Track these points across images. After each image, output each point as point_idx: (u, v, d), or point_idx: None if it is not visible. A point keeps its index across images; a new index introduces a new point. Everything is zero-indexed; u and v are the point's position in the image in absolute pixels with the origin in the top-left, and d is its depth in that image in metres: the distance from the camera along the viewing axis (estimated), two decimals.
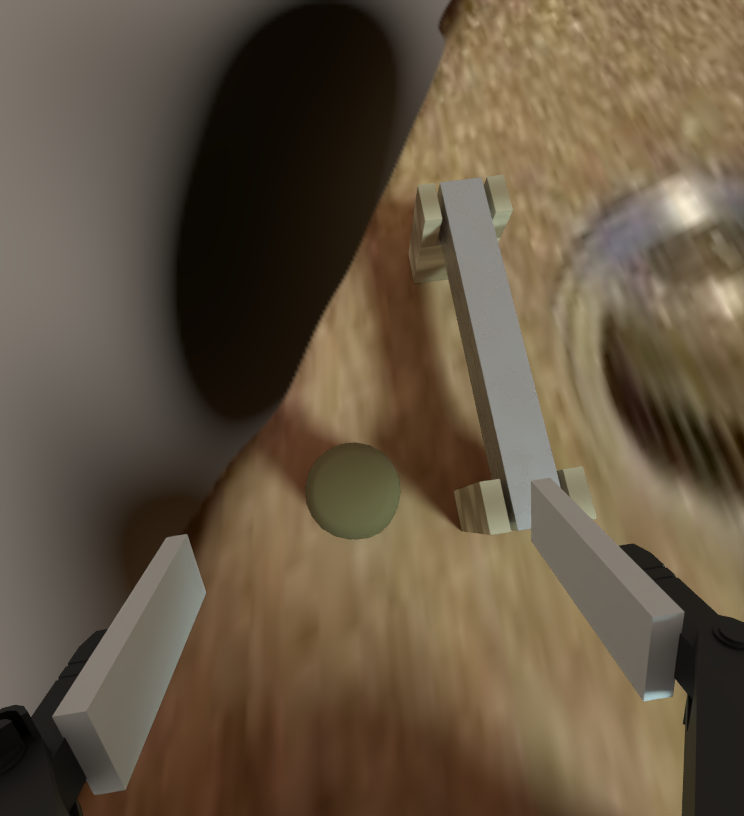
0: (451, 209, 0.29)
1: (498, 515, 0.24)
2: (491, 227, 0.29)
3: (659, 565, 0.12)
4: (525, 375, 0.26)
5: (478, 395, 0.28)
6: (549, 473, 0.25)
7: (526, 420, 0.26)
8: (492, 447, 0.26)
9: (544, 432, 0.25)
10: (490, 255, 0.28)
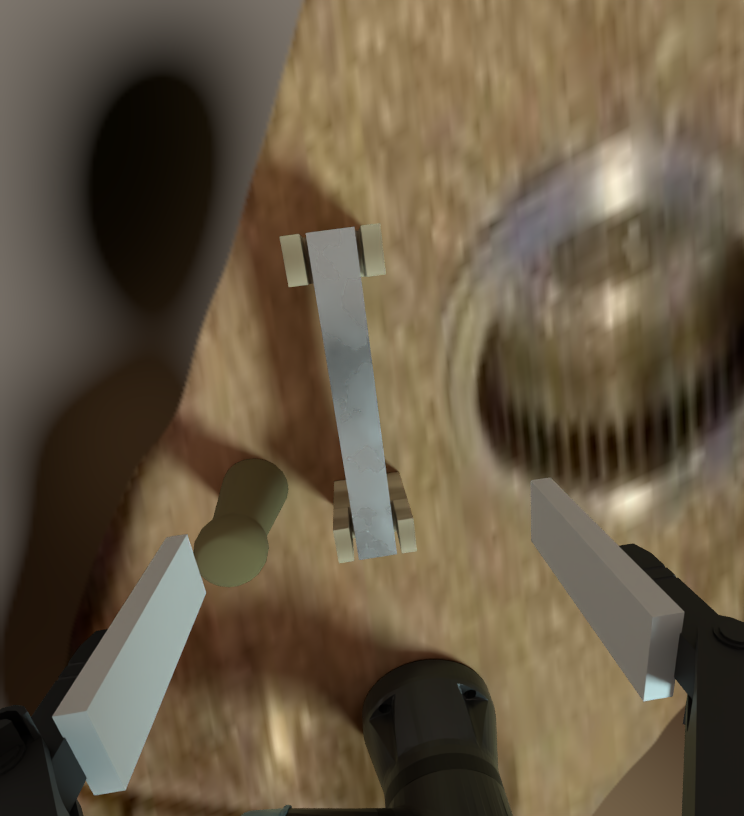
0: (318, 272, 0.26)
1: (345, 551, 0.33)
2: (360, 296, 0.27)
3: (659, 565, 0.12)
4: (377, 450, 0.30)
5: None
6: (387, 523, 0.32)
7: (373, 486, 0.31)
8: None
9: (387, 495, 0.32)
10: (356, 331, 0.28)
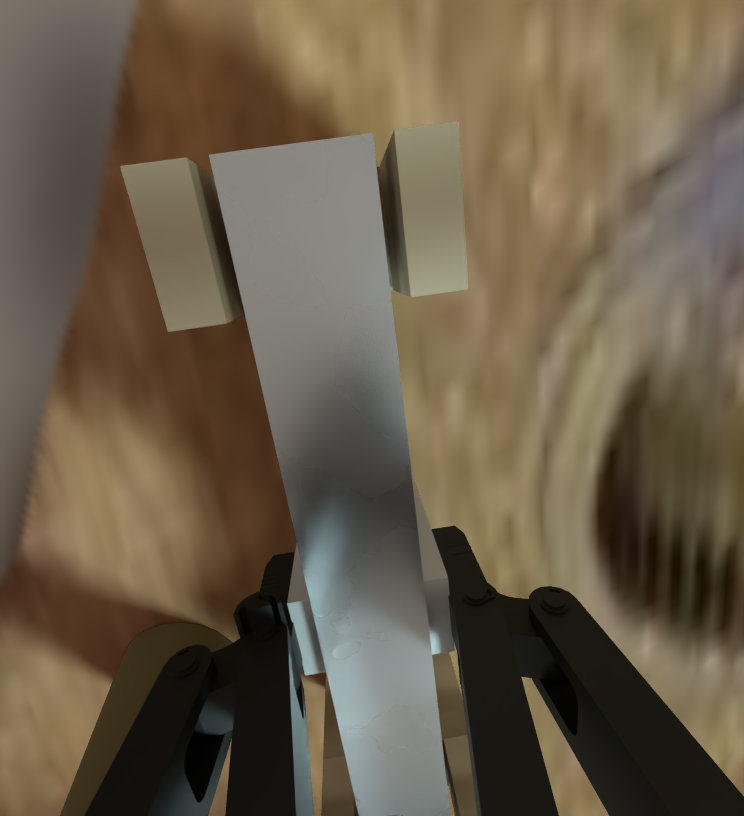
0: (257, 285, 0.08)
1: None
2: (389, 356, 0.09)
3: (464, 543, 0.14)
4: (425, 712, 0.13)
5: None
6: None
7: (413, 777, 0.13)
8: None
9: (443, 792, 0.14)
10: (377, 451, 0.10)
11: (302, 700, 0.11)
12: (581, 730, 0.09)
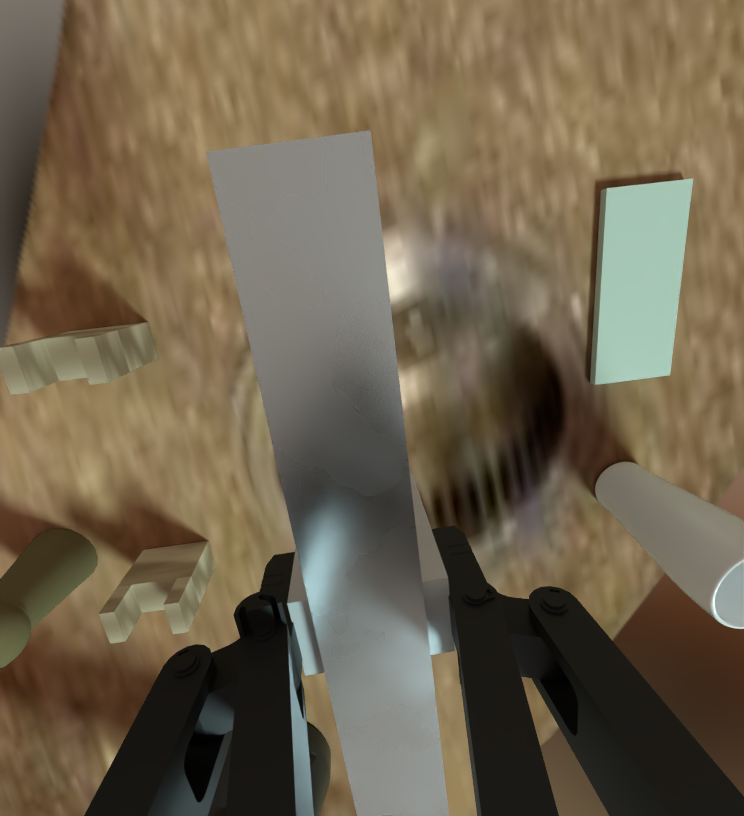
0: (255, 283, 0.08)
1: (115, 632, 0.34)
2: (387, 355, 0.09)
3: (464, 543, 0.14)
4: (423, 711, 0.13)
5: None
6: None
7: (411, 776, 0.13)
8: None
9: (442, 791, 0.14)
10: (375, 450, 0.10)
11: (302, 700, 0.11)
12: (581, 730, 0.09)
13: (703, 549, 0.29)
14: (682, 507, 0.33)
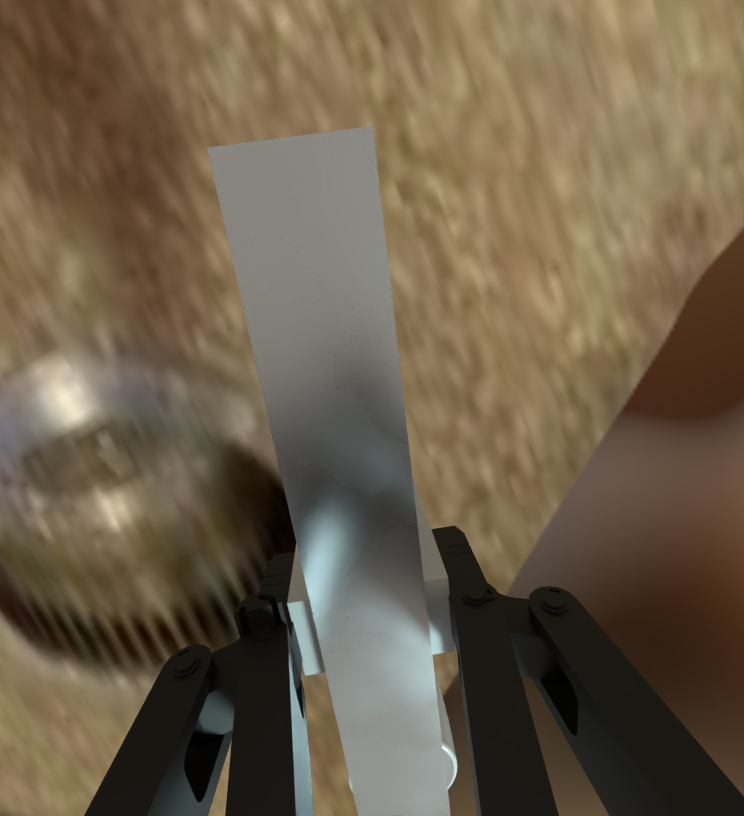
0: (256, 280, 0.08)
1: None
2: (389, 353, 0.09)
3: (464, 543, 0.14)
4: (425, 711, 0.12)
5: None
6: None
7: (413, 777, 0.13)
8: None
9: (443, 792, 0.14)
10: (377, 448, 0.10)
11: (302, 700, 0.11)
12: (581, 730, 0.09)
13: None
14: None
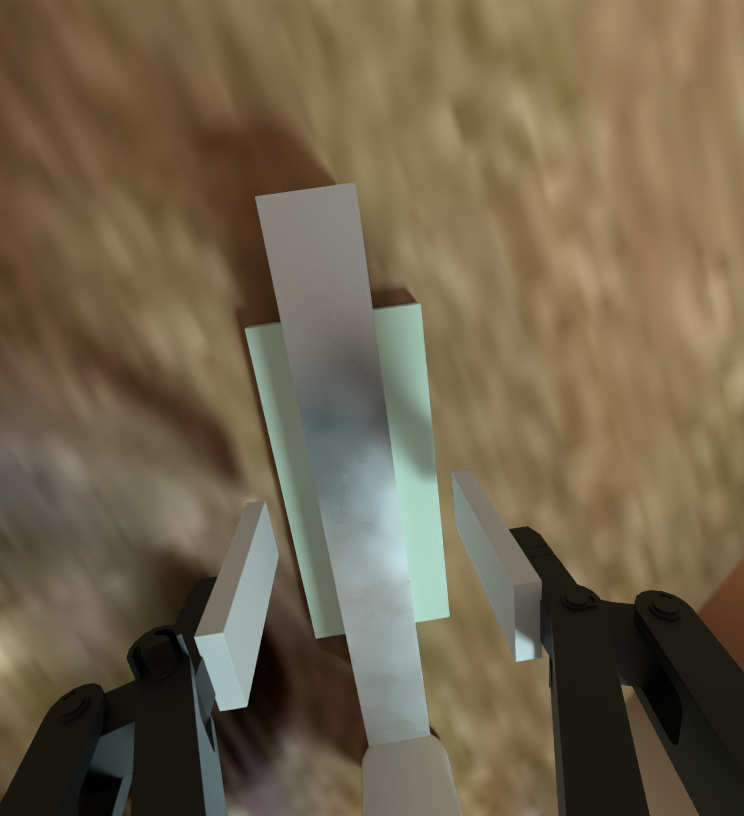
0: (283, 277, 0.13)
1: None
2: (369, 323, 0.14)
3: (543, 544, 0.13)
4: (400, 587, 0.17)
5: None
6: (415, 694, 0.19)
7: (393, 641, 0.18)
8: None
9: (416, 654, 0.19)
10: (362, 388, 0.15)
11: (212, 733, 0.11)
12: (684, 741, 0.09)
13: None
14: None
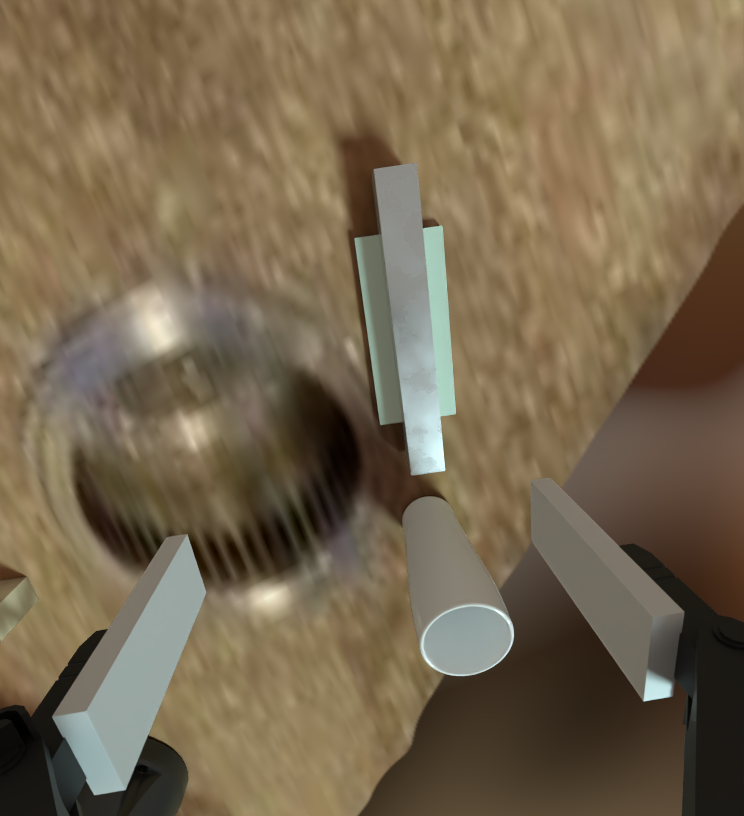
0: (383, 205, 0.30)
1: None
2: (420, 228, 0.30)
3: (659, 565, 0.12)
4: (431, 372, 0.34)
5: (397, 375, 0.36)
6: (437, 441, 0.36)
7: (426, 406, 0.35)
8: (402, 417, 0.37)
9: (438, 414, 0.35)
10: (416, 260, 0.31)
11: None
12: None
13: (423, 599, 0.30)
14: (431, 552, 0.33)
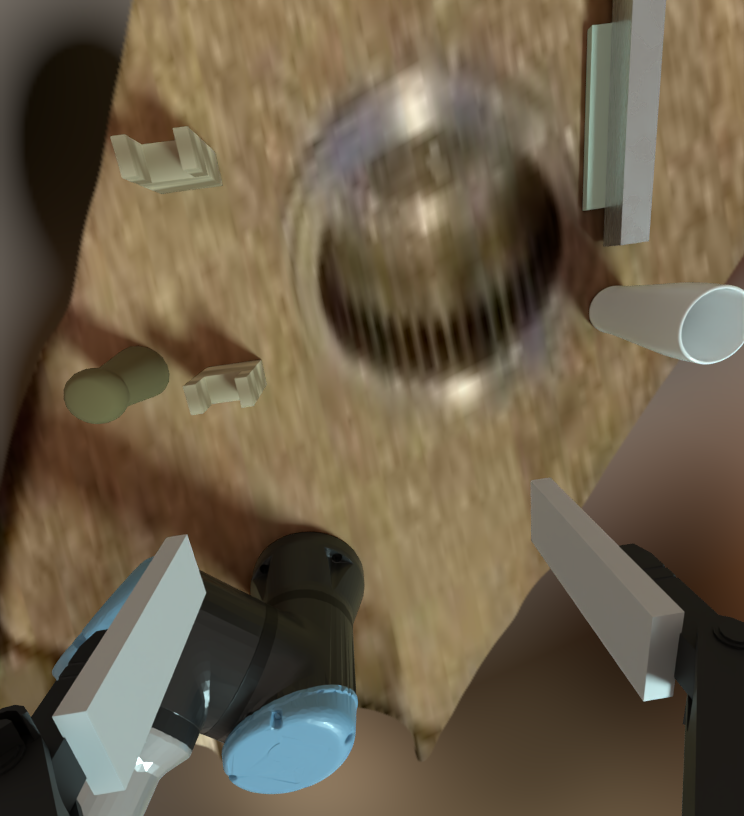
0: None
1: (195, 404, 0.41)
2: (663, 1, 0.37)
3: (659, 565, 0.12)
4: (651, 142, 0.41)
5: (613, 155, 0.42)
6: (646, 211, 0.43)
7: (643, 175, 0.42)
8: (615, 193, 0.43)
9: (651, 184, 0.42)
10: (655, 32, 0.38)
11: None
12: None
13: (672, 300, 0.36)
14: (658, 286, 0.40)
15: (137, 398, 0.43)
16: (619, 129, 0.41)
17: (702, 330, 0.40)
